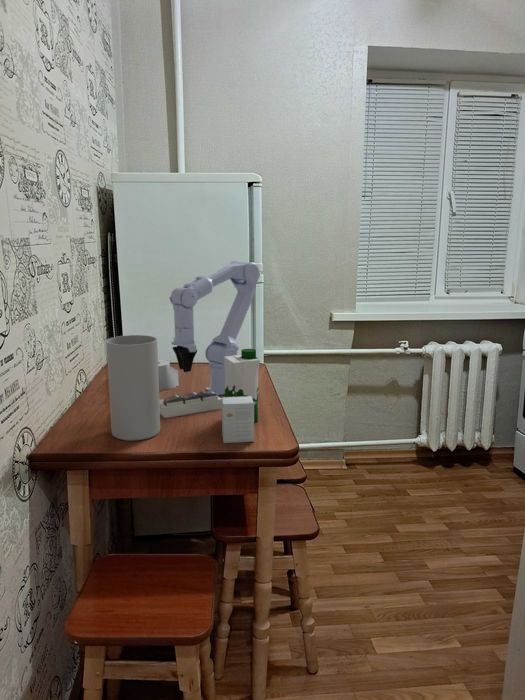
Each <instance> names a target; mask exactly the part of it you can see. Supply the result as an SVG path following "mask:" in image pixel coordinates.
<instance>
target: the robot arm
mask: <svg viewBox="0 0 525 700" xmlns="http://www.w3.org/2000/svg"><path fill="white" fill-rule="evenodd" d="M260 276H261V272H260V270H259V266H258V264H257V263H256V262H252V261H249V262H247V261H246V262H245V261H237V260H232V261H231V262H228V263H226V264H225V266H223V267H221V268H220V269H218V270H217V271H215V272H214V273H212V274H210V275H209V276H208V277H206V276H202V275H198V276H196V277H195V279H194V280H192V281H190V282H186V283H185V284H183V287H181V286H178V287H175V288H174V289H173V291H171V294H170V296H169V301H170V303H171V305H172V307H173V308H172V309H173V313H174V315H173V319H174V321H173V322H174V337H173V341H170V342H171V345H172V346H173V347H172V350H173V352H174V354H175V356H176V359H177V364H178V367H179V370H182V371H183V372H184V373H189V372H191V371H192V368H193V362H194V359H195V357H196V355H197V353H198V349H197V345H196V343H195V342H196V341H195V338H194V337H195V334H194V333H195V331H194V329H195V328H194V325H195V324H194V307H195V305H196V304H197V303H198V300H200V299H202V298H204V297H206V296H207V295H208V294H211V293H212V292H213V288H214V287H216V286H219V285H220V284H222V283H224V282H226V281H228V280H230V281H231V283H232V285H233V286H234V288H235V289H236V291H237V293H236V296H235V297H234V301H233V303H232V305H231V307H230V309H229V312H228V314H227V317H226V318H225V322H224V324H223V326H222V329H221V331H220V333H219V334H217V336H215V337H214V338H213V339H212V341H211V342H210V344H209V345H208V346H207V347H206V349H205V353H204V356H205V359H206V360H207V361H208V365H209V372H210V373H209V374H210V375H209V377H210V382H209V384H210V385H209V386H210V387H205V391H211V392H215V393H216V394H217V396H222V395H225V366H224V357H227V356H233V355H238V351H239V348H240V347H239V345H238V344H237V341H236V340H237V338H238V335H239V333H240V331H241V328H242V325H243V323H244V321H245V318H246V316H247V313H248V311H249V309H250V306H251V304H252V302H253V299H254V297H255V294H256V288H257V284H258V282H259V279H260Z"/></svg>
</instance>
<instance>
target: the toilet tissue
mask: <svg viewBox="0 0 525 700" xmlns="http://www.w3.org/2000/svg"><path fill="white" fill-rule="evenodd" d="M158 377H159V392H163V391H167V390H166V389H168V390H171V389H170V388H172V389H175V388H177V387H176V386H178V387H179V386H180V382H179V381H180V380H179V371H178V369H176V368H173V367H172V366H171V363H170V361H168V360H164V359H158ZM174 387H175V388H174Z"/></svg>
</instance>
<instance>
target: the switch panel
mask: <svg viewBox="0 0 525 700" xmlns="http://www.w3.org/2000/svg"><path fill="white" fill-rule="evenodd" d="M180 396H181V395H180ZM182 396H183V395H182ZM182 396H181V398H182ZM199 397H200V398H199V399H192V400H186V401H185V402H184V401H183V399H182V401H179V402H173V403H167V405H166V404H165V402H164V399H165V398H161V399H160V398H159V404H160V416H161V417H163V419H167V418H168V419H169V418H174V417H179V416H185V415H192V414H197V413H204V412H209V411H216V410H220V409H221V410H222V397H220V396H219V395H217V396H212V397H205V398H202V397H201V396H200V395H199Z"/></svg>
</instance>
